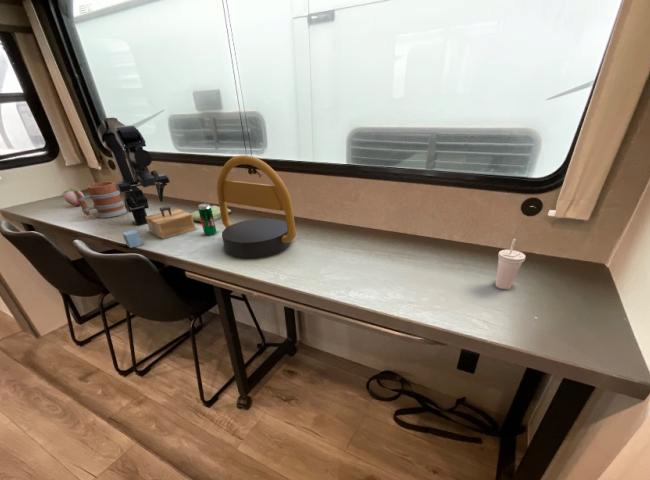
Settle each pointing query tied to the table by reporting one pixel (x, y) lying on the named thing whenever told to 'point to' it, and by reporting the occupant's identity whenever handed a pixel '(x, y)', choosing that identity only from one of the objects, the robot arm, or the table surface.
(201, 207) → the soda can
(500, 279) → the smoothie
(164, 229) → the wooden box
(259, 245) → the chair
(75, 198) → the decorative fruit
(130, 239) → the block
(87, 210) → the mug
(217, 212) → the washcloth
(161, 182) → the robot arm
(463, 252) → the table surface
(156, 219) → the lid
